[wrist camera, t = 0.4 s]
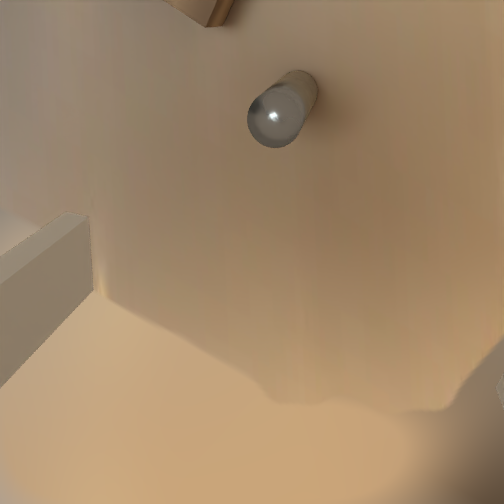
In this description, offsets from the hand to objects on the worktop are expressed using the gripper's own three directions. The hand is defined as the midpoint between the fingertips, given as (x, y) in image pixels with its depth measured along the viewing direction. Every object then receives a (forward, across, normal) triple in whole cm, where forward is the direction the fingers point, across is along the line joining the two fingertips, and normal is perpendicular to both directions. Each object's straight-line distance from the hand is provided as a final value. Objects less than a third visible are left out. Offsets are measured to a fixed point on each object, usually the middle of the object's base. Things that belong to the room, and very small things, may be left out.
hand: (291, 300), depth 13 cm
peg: (+23, -3, +2) cm, 24 cm away
